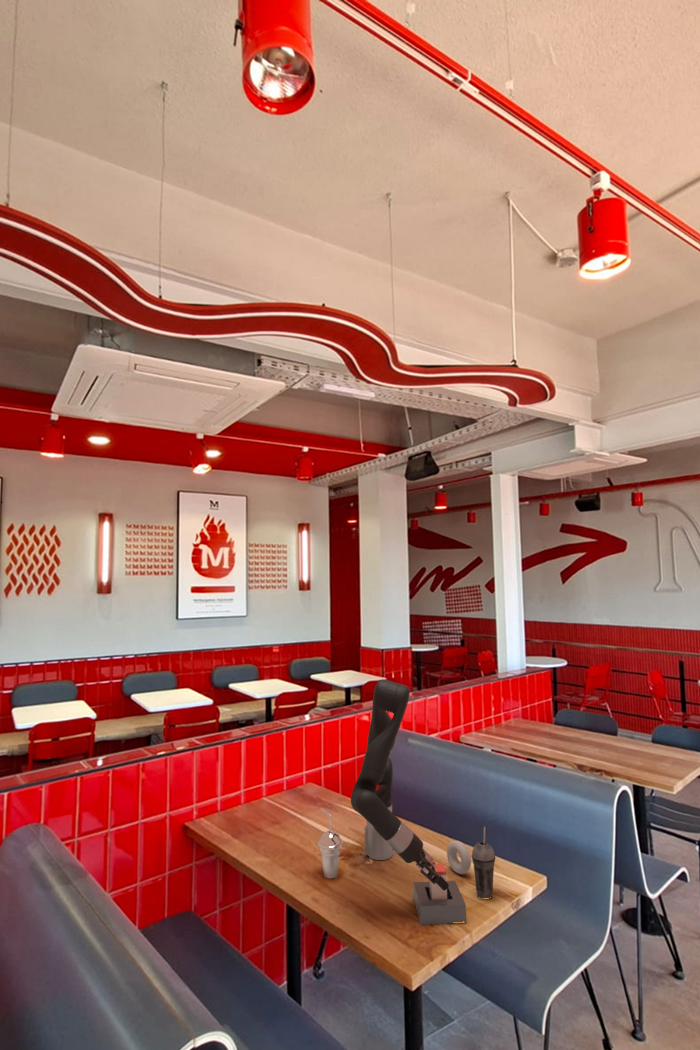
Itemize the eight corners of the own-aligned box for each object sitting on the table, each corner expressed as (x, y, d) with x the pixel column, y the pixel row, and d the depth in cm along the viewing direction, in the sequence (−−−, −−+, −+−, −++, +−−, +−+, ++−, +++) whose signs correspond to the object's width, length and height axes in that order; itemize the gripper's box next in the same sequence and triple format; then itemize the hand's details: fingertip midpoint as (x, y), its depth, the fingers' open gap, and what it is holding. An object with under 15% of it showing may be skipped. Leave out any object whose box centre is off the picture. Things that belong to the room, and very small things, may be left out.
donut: (473, 877, 187) (472, 845, 188) (466, 881, 185) (465, 848, 186) (452, 865, 195) (451, 834, 196) (444, 868, 193) (444, 837, 194)
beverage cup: (467, 895, 176) (466, 828, 178) (480, 886, 182) (479, 821, 183) (488, 905, 171) (486, 835, 173) (501, 895, 176) (499, 828, 178)
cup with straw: (320, 883, 184) (320, 818, 186) (315, 869, 193) (314, 808, 195) (346, 879, 187) (345, 815, 189) (339, 866, 195) (339, 805, 197)
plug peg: (432, 915, 166) (431, 871, 168) (430, 906, 171) (428, 864, 172) (447, 914, 166) (446, 871, 168) (444, 906, 171) (443, 864, 172)
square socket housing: (420, 924, 162) (420, 906, 162) (413, 899, 175) (413, 882, 175) (466, 923, 162) (465, 904, 163) (455, 897, 175) (455, 880, 176)
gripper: (416, 842, 163) (458, 885, 163) (408, 821, 177) (447, 860, 177) (398, 862, 162) (440, 905, 162) (392, 839, 177) (431, 879, 176)
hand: (444, 882), depth 169 cm, fingers open, 5 cm apart
